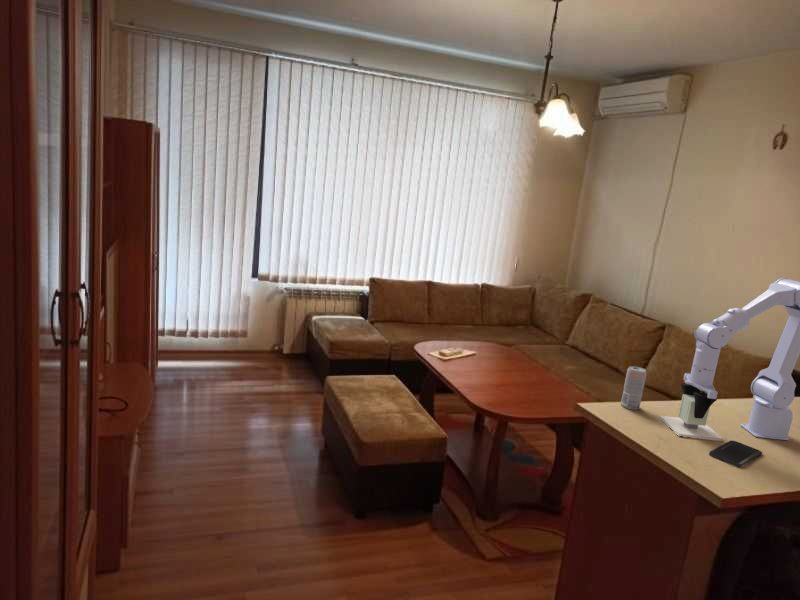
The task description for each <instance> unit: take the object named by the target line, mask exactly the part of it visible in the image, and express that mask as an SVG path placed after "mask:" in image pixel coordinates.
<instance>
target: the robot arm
mask: <svg viewBox="0 0 800 600" xmlns="http://www.w3.org/2000/svg"><path fill="white" fill-rule="evenodd" d="M776 306H783V307H784V309H785V310H786V311H787V313H788V315H789V316H788V319H787V321H786V324H785V326H784V329H783V331H782V334H781V336H780V338H779V340H778V343H777V346H776V348H775V351H774V352H773V356H772V357H771V361H770V363H769V366H768V367H767V368H766V367H765V368H763V369H761V370H760V371H759V372H758V373H757V375H756V376H755V378H754V379H753V380H752V382H751V385H750V391H751V394H752V395H753V396H752V398H753V399H754V400H753V404H752V407H751V411H750V415H749V420H748V423H740V426H741V427H742V428H744V429H745V430H746V431H747V432H749V433H750V434H752V435H753V436H754V437H756V438H761V439H762V438H763V439H772V440H781V441H790V438H789V437H788V436H789V433H790V430H791V425H792V422H793V418H794V417H793V416H794V415H793V411H792V409H791V407H790V406H791V404H792V403H793V401H795V390H796V387H797V383H796V382H795V380H794V378H793V376H792V374H793V370H794V368H795V366H796V364H797V362H798V358H799V356H800V281H797V280H793V279H791V278H788V277H781V278H778V279H777V280H775V281H774V282H772V283H771V284H769V286H768V289H767V290H766V291H764V292H763V293H761V294H759V295H758V296H757V297H756V298H754V299H753V300H751V301H750V302H749V303H747V304H746V305H745V306H743V307H742V308H738V307H733V308H729V309H728V310H726V311H727V312H726V313H724V314H722V315H720V316H719V317H717V318H715V319H712V321H711V322H704V323H702V324H701V325H699V326H698V327H697V329H696V330H694V332H693V333H694V339H695V340H696V343H695V353H694V356H693V361H692V366H691V368H690V369H691V370H690V373H689V372H685V373H684V375H683V381H684V382H682V383H680V386H681V389H682V393H683V394H686V395H694V398H695V409H694V417H695V418H701V419H703V417H704V415H705V414H706V412H707V410H708V409H709V410H710V408H711V406H712V405H713V404H714V403H715V402H716V401H717V399H718V393H719V392H718V391H716V388H715V386H714V384H713V383H714V379H715V374H716V370H717V365H718V363H719V362H718V361H719V357H720V353H721V348H723V347H725V346H726V345H727V344H728V342H729V340H730V339H732V337H733V335H736V334H737V333H739V332H740V331H742V330H743V329H745V328H747V327H748V326H749V325H750V324H751V323H750V322H751V320H752V319H754V318H755V317H757V316H759V315H761V314H762V313H764V312H766V311H767V310H770V309H772V308H773V307H776ZM683 394H682V395H683ZM709 407H710V408H709Z"/></svg>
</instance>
